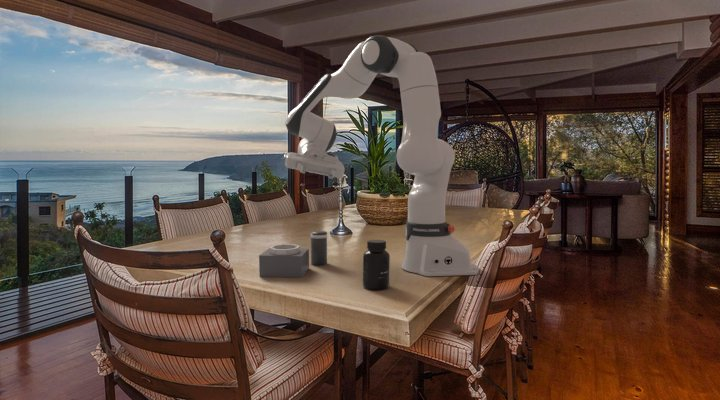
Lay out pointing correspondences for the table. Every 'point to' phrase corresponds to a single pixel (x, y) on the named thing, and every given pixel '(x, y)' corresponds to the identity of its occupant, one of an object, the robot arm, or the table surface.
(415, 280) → the table surface
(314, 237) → the lens
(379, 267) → the supplement bottle
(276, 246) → the camera body block
